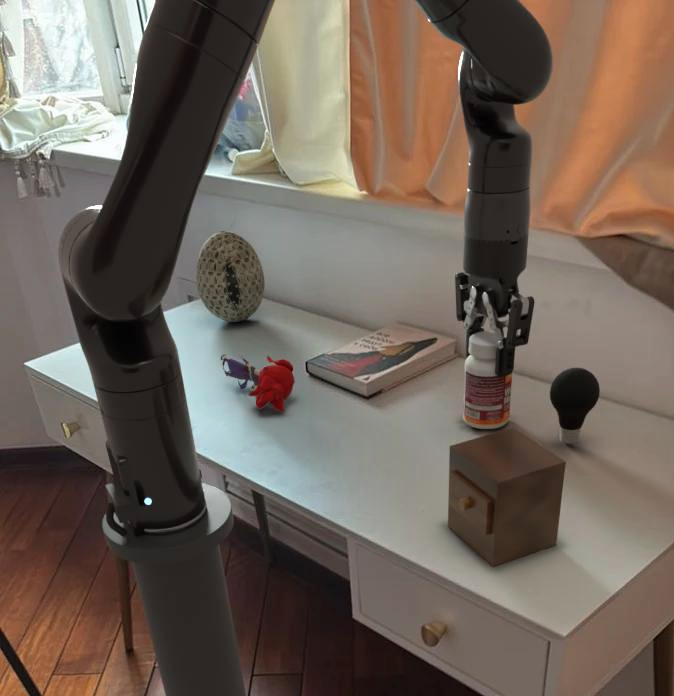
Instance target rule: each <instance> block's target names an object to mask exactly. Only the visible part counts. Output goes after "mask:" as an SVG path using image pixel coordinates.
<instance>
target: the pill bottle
mask: <svg viewBox="0 0 674 696" xmlns="http://www.w3.org/2000/svg"><path fill="white" fill-rule="evenodd" d="M504 336H505V337H507V333H505V332H504ZM496 347H498V345H497V340H496V335H495V332H494V331H493V330H484V332H478V333H475V334H473V335H472V336H470V338H469V353H470V354H471V355H470V356H468V358H467V357H466V358H465V362H464V369H463V371H464V373H463V374H464V375H463V402H462V404H463V406H462V407H463V408H462V409H463V410H462V418H463V422H465V424H466V425H468V426H469V427H472V428H475V429H481V430H493V429H498V428H501V427H503V426H505V425H506V424H507V423H508V422H509V420H510V413H511V399H512V386H513V385H512V383H513V382H512V381H513V372H512V373H511V374H510V375H507V376H503V377H499V376H497V375H496V374H495V364H496Z"/></svg>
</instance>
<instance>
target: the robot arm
mask: <svg viewBox="0 0 674 696" xmlns="http://www.w3.org/2000/svg"><path fill="white" fill-rule="evenodd" d="M413 1H414V3H415V4H416V6H417V7H418V8H419V9H420V11H421V13H423V15H424V16H425V18H426V19H427V20H428V22H429V24H430V25H431V26H432V27H433V28H434V29H435V31H436V33H438V34H439V35H441V36H442V37H443V38H445V39H446V40H448V41H451V42H453V43H456V44H458V45H460V46H461V47H462V49H461V54H460V58H459V63H458V71H457V72H458V73H457V75H458V77H457V79H458V92H459V99H460V105H461V111H462V117H463V124H464V130H465V133H466V137H467V143H468V160H467V161H468V163H467V164H468V165H467V188H466V189H467V190H466V197H465V205H464V216H463V217H464V219H463V220H464V221H463V247H462V254H463V255H462V269H463V271H461V272H457V273H455V275H454V287H455V288H454V289H455V313H456V316H455V317H456V320H457V321H458V322H463V329H464V330H465V331H466V336H465V340H466V341H465V342H466V343H465V356H466V359H467V358H468V356H470V355H471V354H470V353H469V338H470V336H472V335H473V334H475V333H478V332H484V331H485V328H483V327H484V326H485V324H486V322H487V320H488V323H489V328H490V331H494V332H495V335H496V340H497V345H498V347H496V364H495V374H496V375H497V376H499V377H503V376H507V375H510V374H511V373H512V374H513V371H514V368H515V356H516V355H515V354H516V348H517V347H521V346H526V345H528V343H529V340H530V339H529V338H530V333H531V328H532V320H533V315H534V308H535V298H534V297H533V296H532V295H531V296H530V295H529V296H523V295H522V294H521V293H520V288H519V284H518V283H519V282H518V278H519V277H520V275H521V274H522V273H523V272H524V271H525V270H526V267H527V258H528V247H529V246H528V245H529V232H530V222H531V221H530V220H531V179H532V178H531V177H532V164H533V163H532V162H533V138H532V135H531V134H530V132H529V131H528V130H527V129H526V128H524V126H522V125H521V124H520V123H519V122H518V120H517V116H516V110H515V106H517V105H518V106H519V105H524V104H528V103H530V102H533V101H534V100H536V99H537V98H539V97H540V96H541V95H542V94H543V93H544V92H545V90H546V89H547V87H548V85H549V83H550V80H551V78H552V75H553V69H554V55H553V49H552V45H551V42H550V39H549V37H548V35H547V33H546V31H545V29H544V28H543V25H541V23H540V22H539V21H538V19H537V18H536V17H535V15H533V14H532V12H531V11H530V10H529V9H528V8H527V7H526V6H525V5H524V4H523V3H522V2H521V1H520V0H413ZM275 3H276V0H154V1H153V5H152V8H151V10H150V13H149V16H148V18H147V22H146V24H145V26H144V30H143V35H142V38H141V40H140V44H139V49H138V53H137V57H136V63H135V68H134V74H133V82H132V91H131V100H130V108H129V116H128V117H129V118H128V127H127V135H126V139H125V144H124V148H123V151H122V154H121V157H120V158H121V159H120V161H119V164H118V167H117V169H116V172H115V175H114V177H113V180H112V182H111V184H110V187H109V189H108V191H107V193H106V196H105V197H104V200H103V203H102V205H95V206H94V205H93V206H89V207H86V208H84V209H81V210H80V211H78V212H77V213H75V214H74V215H73V216H72V217H71V218H70V219H69V220H68V221H67V222H66V224H65V225H64V227H63V229H62V232H61V234H60V238H59V241H58V246H57V247H58V249H57V252H58V253H57V254H58V255H57V256H58V264H59V270H60V274H61V278H62V283H63V286H64V290H65V293H66V297H67V302H68V305H69V309H70V312H71V316H72V320H73V323H74V326H75V330H76V334H77V338H78V341H79V342H78V343H79V344H80V348H81V350H82V353H83V355H84V358H85V360H86V363H87V365H88V369H89V373H90V376H91V380H92V383H93V388H94V393H95V395H96V396H95V397H96V400H97V404H98V408H99V412H100V416H101V420H102V425H103V429H104V432H105V436H106V441H105V442H104V443H105V447H106V452H107V455H108V456H107V457H108V460H109V465H110V467H111V472H112V475H113V478H114V482H111V483H107V484H104V487H105V491H106V492H105V493H106V496H107V499H108V504H107V508H106V512H105V514H106V521H107V523H108V525H109V527H110V528H111V529H112V530H114V531H115V532H117V533H118V534H120V535H121V536H122V537H123V536H125V535H126V534H127V533H128V532H127V530H126V529H124V528H123V527H121V526H120V525H119V524H117V523H116V522H115V520H114V512H115V514H116V516H117V518H118V520H119V522H120V523H123V522H126V521H127V523H128V525H129V526H130V528H131V529H132V531H133V533H134V535H135V536H136V537H138V536H141V535H167V534H173V533H177V532H180V531H183V530H186V529H188V528H190V527H192V526H194V525H195V524H197V523H198V522H200V521H201V520H202V519H203V517H204V516H205V514H206V512H207V504H206V500H205V496H204V491H203V487H202V483H203V481H202V479H203V475H202V472H201V471H202V470H201V469H200V465H199V460H198V454H197V449H196V444H195V439H194V433H193V427H192V422H191V416H190V411H189V406H188V400H187V395H186V389H185V384H184V378H183V373H182V367H181V361H180V356H179V350H178V347H177V344H176V341H175V339H174V337H173V335H172V333H171V331H170V328H169V325H168V323H167V319H166V317H165V313H164V309H163V305H162V301H163V299H164V298H165V296H166V294H167V293H168V290H169V288H170V284H171V282H172V278H173V275H174V272H175V268H176V265H177V261H178V257H179V254H180V250H181V247H182V243H183V240H184V236H185V232H186V229H187V226H188V222H189V218H190V215H191V213H192V209H193V206H194V203H195V199H196V196H197V194H198V191H199V188H200V186H201V183H202V181H203V179H204V176H205V174H206V172H207V170H208V167H209V165H210V162H211V161H212V158H213V157H214V153H215V151H216V149H217V147H218V145H219V142H220V140H221V137H222V134H223V132H224V130H225V127H226V125H227V122H228V120H229V117H230V114H231V113H232V111H233V107H234V106H235V103H236V101H237V99H238V97H239V94H240V92H241V90H242V88H243V85H244V82H245V80H246V78H247V75H248V73H249V70H250V68H251V65H252V63H253V61H254V58H255V56H256V53H257V51H258V47H259V46H260V43H261V40H262V37H263V34H264V31H265V29H266V26H267V23H268V20H269V17H270V15H271V12H272V9H273V7H274V5H275ZM465 302H467V304H466V307H465ZM506 316H508V319H506V320H501V321H500V320H499V319H503V318H506ZM504 328H507V329H506V330H507V331H506V334H507V337H505V336H504V333H505V332H504ZM519 330H520V331H519ZM518 331H519V332H518Z"/></svg>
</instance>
